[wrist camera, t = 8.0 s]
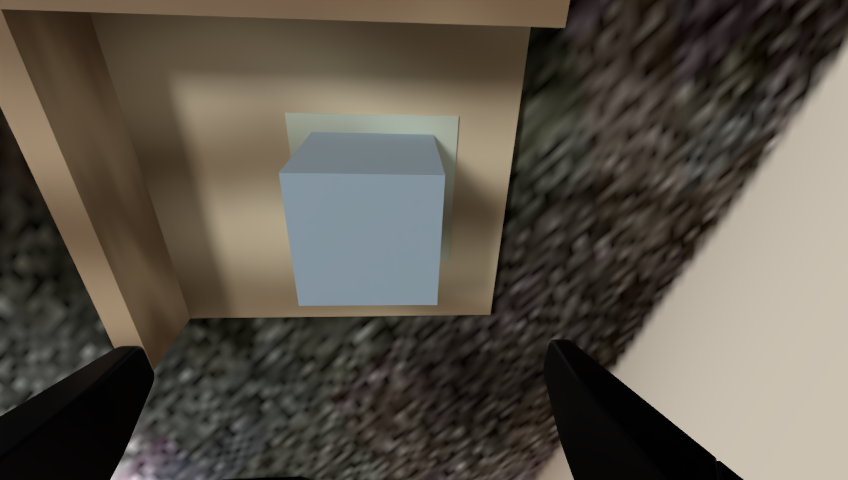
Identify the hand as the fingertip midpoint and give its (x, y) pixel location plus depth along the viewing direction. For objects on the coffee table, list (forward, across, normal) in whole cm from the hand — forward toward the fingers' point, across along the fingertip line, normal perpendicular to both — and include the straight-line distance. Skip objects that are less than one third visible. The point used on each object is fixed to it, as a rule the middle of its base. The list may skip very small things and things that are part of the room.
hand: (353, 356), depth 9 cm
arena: (+11, +3, 0) cm, 11 cm away
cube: (+10, 0, 0) cm, 10 cm away
